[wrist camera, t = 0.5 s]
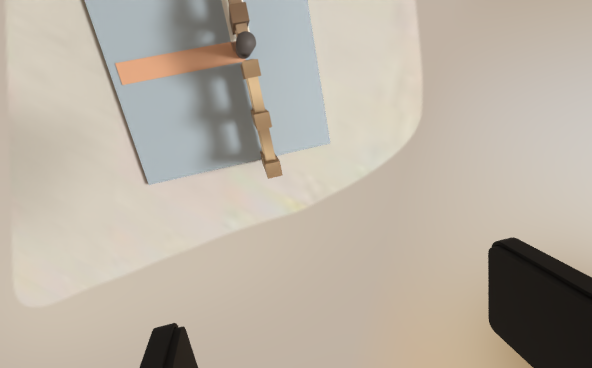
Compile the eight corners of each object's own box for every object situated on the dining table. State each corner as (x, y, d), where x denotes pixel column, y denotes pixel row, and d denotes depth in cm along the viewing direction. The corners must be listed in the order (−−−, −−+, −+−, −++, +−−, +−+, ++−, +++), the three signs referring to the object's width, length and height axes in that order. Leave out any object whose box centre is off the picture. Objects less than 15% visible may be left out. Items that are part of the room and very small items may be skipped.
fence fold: (239, 64, 30) (241, 60, 24) (253, 61, 30) (257, 57, 25) (262, 163, 33) (268, 178, 27) (274, 160, 33) (282, 175, 28)
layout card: (65, -58, 26) (62, -61, 25) (291, -91, 28) (292, -94, 27) (149, 183, 32) (148, 185, 32) (329, 142, 34) (330, 143, 34)
